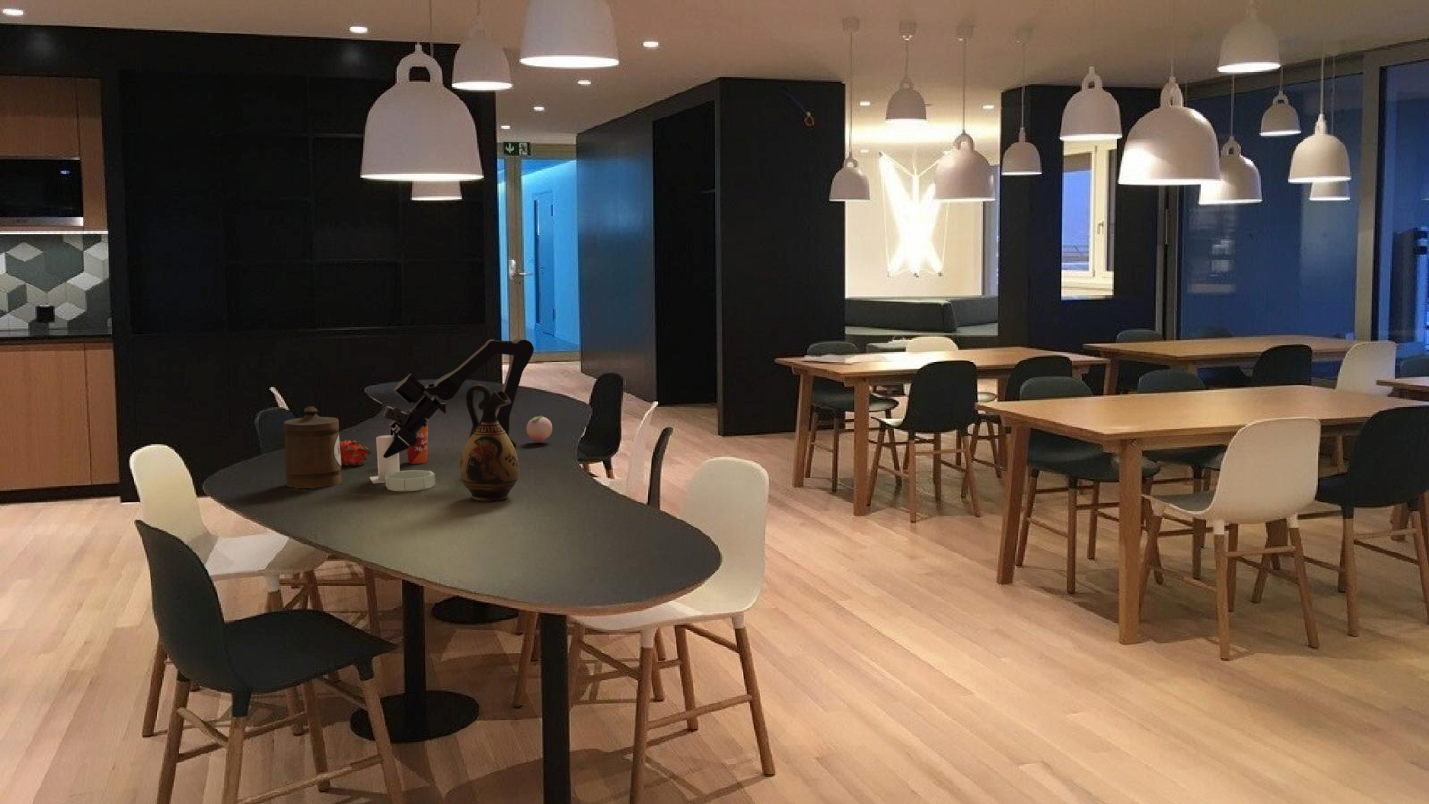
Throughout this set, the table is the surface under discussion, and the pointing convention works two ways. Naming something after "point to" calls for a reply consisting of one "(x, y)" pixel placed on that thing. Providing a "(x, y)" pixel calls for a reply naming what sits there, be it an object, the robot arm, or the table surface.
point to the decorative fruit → (539, 428)
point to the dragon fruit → (352, 453)
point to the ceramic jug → (488, 450)
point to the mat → (376, 480)
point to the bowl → (410, 480)
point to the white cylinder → (388, 463)
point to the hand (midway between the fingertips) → (383, 455)
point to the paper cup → (419, 448)
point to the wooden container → (312, 451)
